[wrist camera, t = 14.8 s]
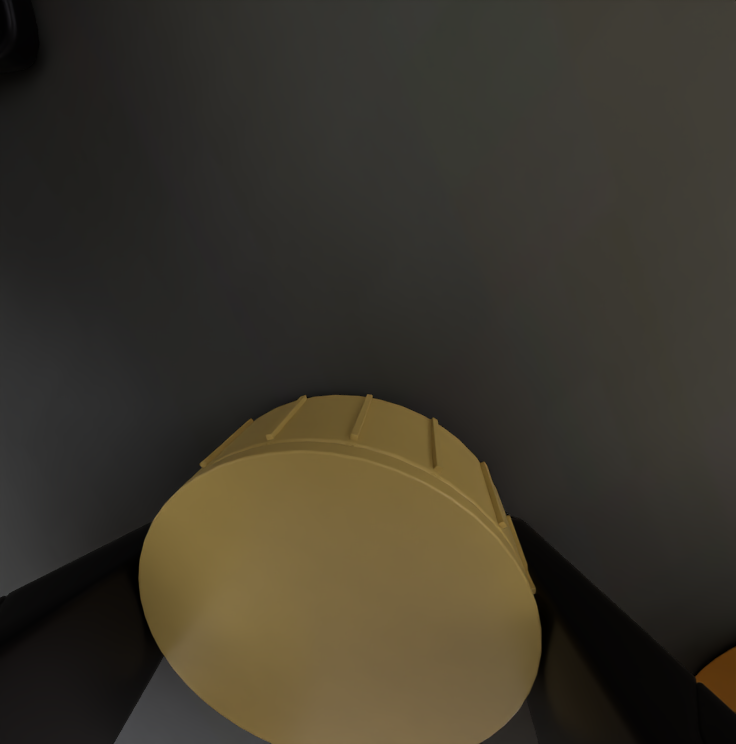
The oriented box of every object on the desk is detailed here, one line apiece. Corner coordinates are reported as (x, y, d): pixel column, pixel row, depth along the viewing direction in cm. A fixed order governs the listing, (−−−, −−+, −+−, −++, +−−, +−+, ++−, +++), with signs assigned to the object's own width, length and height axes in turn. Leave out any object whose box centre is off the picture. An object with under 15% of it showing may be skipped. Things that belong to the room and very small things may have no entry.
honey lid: (436, 679, 8) (441, 815, 6) (191, 582, 9) (119, 682, 7) (567, 463, 6) (639, 559, 4) (243, 344, 7) (163, 379, 5)
